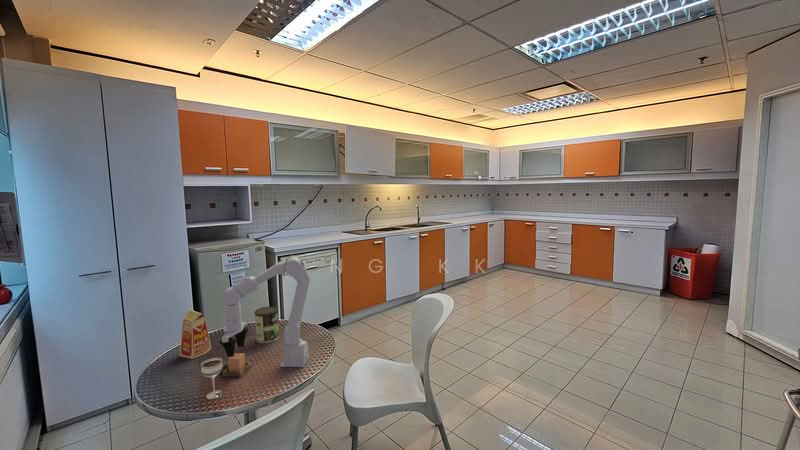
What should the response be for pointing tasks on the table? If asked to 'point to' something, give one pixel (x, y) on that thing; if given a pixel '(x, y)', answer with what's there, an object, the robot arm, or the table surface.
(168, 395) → the table surface
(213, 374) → the wineglass
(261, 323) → the coffee can
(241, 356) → the block
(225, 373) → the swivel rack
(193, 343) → the milk carton
